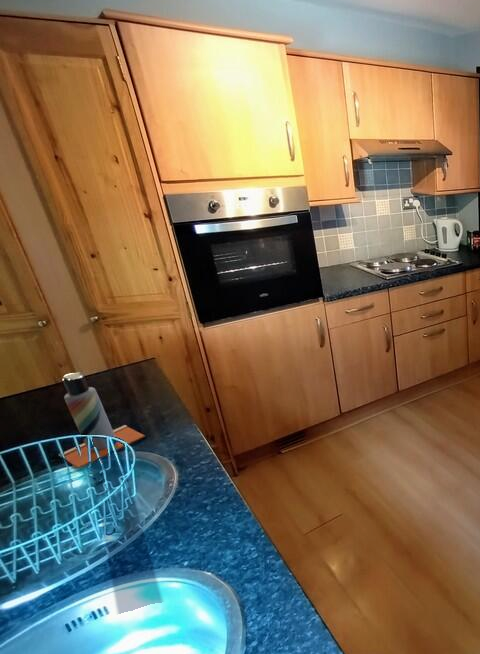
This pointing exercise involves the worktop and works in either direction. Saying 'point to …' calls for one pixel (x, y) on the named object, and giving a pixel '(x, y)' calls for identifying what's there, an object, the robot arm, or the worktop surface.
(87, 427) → the lotion bottle
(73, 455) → the orange flat block
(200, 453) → the worktop surface
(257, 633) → the worktop surface
